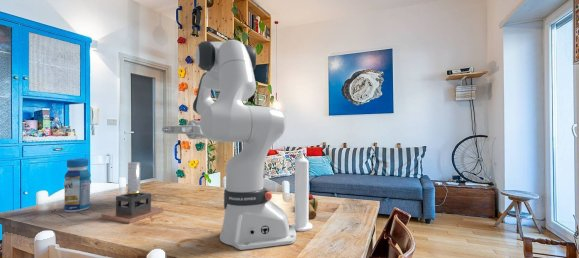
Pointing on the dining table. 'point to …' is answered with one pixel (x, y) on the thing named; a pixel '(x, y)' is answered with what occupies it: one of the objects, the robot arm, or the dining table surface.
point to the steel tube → (134, 181)
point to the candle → (301, 194)
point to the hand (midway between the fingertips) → (171, 129)
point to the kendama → (312, 206)
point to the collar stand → (132, 209)
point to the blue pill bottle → (77, 185)
